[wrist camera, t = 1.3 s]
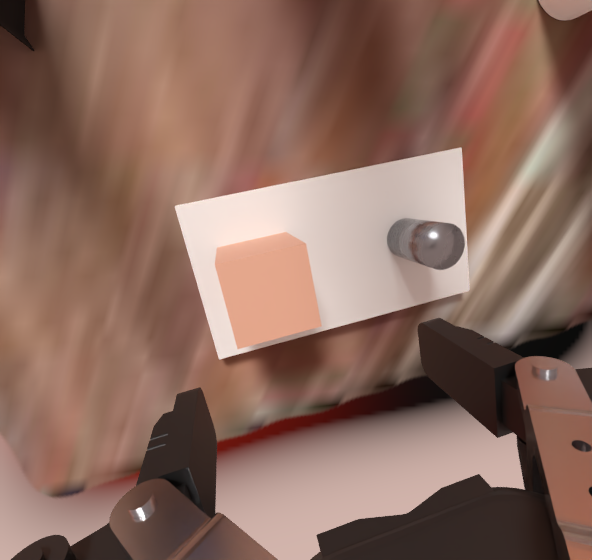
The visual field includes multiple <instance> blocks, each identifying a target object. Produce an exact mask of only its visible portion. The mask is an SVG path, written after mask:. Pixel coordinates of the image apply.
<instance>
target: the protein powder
mask: <svg viewBox="0 0 592 560" xmlns="http://www.w3.org/2000/svg"><path fill="white" fill-rule="evenodd" d="M24 20H25V0H0V25H1V26H2V27H3V28H5V29H6V30H7V31H8V32H10V33H11V34H12V35H14V36H15V37H16V38H17V39H19V40H20V41H21V42H23V43H24V44H25V45H26V46H28V47H29V48H30V49H32V50H33V51H34V49H33V48H32V46H31V45H30V43H29V42H28V40H27V39H26V37H25V35H24Z"/></svg>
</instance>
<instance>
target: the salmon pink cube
mask: <svg viewBox="0 0 592 560" xmlns="http://www.w3.org/2000/svg"><path fill="white" fill-rule="evenodd" d="M215 268H216V271H217V275H218V279H219V282H220V286H221V290H222V293H223V297H224V301H225V305H226V308H227V312H228V316H229V319H230V323H231V327H232V330H233V334H234V338H235V342H236V345H237V349H241V348H244V347H248V346H252V345H255V344H259V343H263V342H266V341H270V340H274V339H277V338H281V337H285V336H288V335H292V334H296V333H299V332H303V331H307V330H310V329H314V328H318V327H321V326H322V325H321V320H320V315H319V309H318V304H317V299H316V294H315V288H314V283H313V278H312V273H311V267H310V262H309V257H308V251H307V246H306V243H304V242H303V241H301V240H299V239H297V238H296V237H294V236H292V235H290V234H289V233H287V232H283V233H279V234H274V235H270V236H266V237H261V238H257V239H252V240H248V241H243V242H239V243H235V244H230V245H226V246H221V247H217V251H216V258H215Z"/></svg>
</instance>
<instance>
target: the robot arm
mask: <svg viewBox="0 0 592 560" xmlns="http://www.w3.org/2000/svg"><path fill="white" fill-rule="evenodd" d="M418 337H419V346H420V354H421V362H422V366H423V369H424V371H425V373H426V374H427V376H428V377H429V378H430V379H431V380H432V381H434V382H435V383H436V384H437V385H438V386H439V387H440V388H441V389H443V390H444V391H445V392H446V393H447V394H448V395H449V396H451V397H452V398H453V399H454V400H455V401H456V402H457V403H459V404H460V405H461V406H462V407H463V408H464V409H465V410H467V411H468V412H469V413H470V414H471V415H472V416H473V417H474V418H476V419H477V420H478V421H479V422H480V423H481V424H482V425H484V426H485V427H486V428H487V429H488V430H489V431H490V432H491V433H493V434H494V435H495V436H496V437H497V438H498V437H501V436H504V435H507V434H509V433H512V432H514V433H515V434H516V435H517V447H518V453H519V459H520V465H521V470H522V476H523V482H524V487H525V490H523V489H517V488H507V487H493V488H491V487H490V486H489V484H488V483H487V482H486V481H485V480H484V479H483V478H482V477H481V476H480V475H479V474H478V475H475V476H473V477H470V478H467V479H465V480H462V481H459V482H457V483H454V484H451V485H449V486H446V487H443V488H441V489H440V490H438V491H437V492H436V493H434V494H433V495H432V496H430V497H429V498H428V499H427V500H425V501H424V502H422V504H420V505H419V506H417V507H416V508H415V509H413V510H412V511H411V512H409V513H407V514H403V515H394V516H385V517H375V518H365V519H358V520H355V521H353V522H350V523H347V524H345V525H342V526H339V527H337V528H334V529H331V530H329V531H326V532H323V533H321V534H318V535H317V539H318V542H319V547H320V551H321V552H319V553H318V554H317V555H315V556H314V557H313V558H312V559H311V560H592V368H586V369H574V368H573V367H572V366H571V365H569V364H567V363H565V362H563V361H561V360H558V359H554V358H550V357H542V356H533V357H526V358H523V357H521V356H519V355H517V354H515V353H514V352H512V351H510V350H508V349H506V348H504V347H502V346H501V345H499V344H497V343H493V341H491V340H489V339H488V338H484V336H482V335H480V334H478V333H476V332H474V331H473V330H469V329H465V328H461V327H455V326H454V325H452V324H450V323H448V322H446V321H445V320H443V319H441V318H437V319H433V320H430V321H427V322H423V323H420V324H419V325H418ZM150 439H151V441H149V444H148V448H147V450H148V451H146V454H145V458H144V461H143V464H142V468H141V471H140V474H139V478H138V481H137V484H136V487H134V488H133V489H131V490H130V491H129V492H127V493H126V494H125V495H124V496H123V497H122V498H121V499H120V500H119V502H118V503H117V504H116V506H115V507H114V509H113V511H112V513H111V516H110V521H109V523H108V524H107V525H105V526H104V527H102V528H101V529H99V530H97V531H96V532H94V533H92V534H91V535H89V536H87V537H86V538H84V539H82V540H81V541H79V542H77V543H76V544H74V545H72V546H70V545H69V543H68V541H67V539H66V538H65V537H64V536H60V535H52V536H48V537H45V538H42V539H40V540H38V541H36V542H34V543H32V544H31V545H29V546H27V547H26V548H24V549H23V550H22V551H21V552H19V553H18V554H17V555H16V556H14V557H13V558H12V559H11V560H277V559H276V558H275V557H274V556H273V555H272V554H270V553H269V552H268V551H267V550H266V549H264V548H263V547H262V546H261V545H259V544H258V543H257V542H256V541H255V540H253V539H252V538H251V537H250V536H249V535H248V534H246V533H245V532H244V531H243V530H241V529H240V528H239V527H238V526H237V525H235V524H234V523H233V522H232V521H230V520H229V519H228V518H227V517H226V516H224V515H223V514H221V513H216V514H215V499H216V498H215V497H216V459H217V440H216V433H215V429H214V425H213V422H212V419H211V416H210V413H209V410H208V407H207V404H206V401H205V397H204V394H203V392H202V390H201V388H196V389H193V390H189V391H186V392H182V393H179V394H177V397H176V401H175V405H174V409H173V411H172V412H168V413H165V414H163V415H162V417H161V418H160V419H159V420H158V422H157V423H156V424H155V426H154V428H153V431H152V434H151V438H150Z"/></svg>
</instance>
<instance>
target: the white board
mask: <svg viewBox="0 0 592 560" xmlns="http://www.w3.org/2000/svg"><path fill="white" fill-rule="evenodd" d="M175 209H176V212H177V216H178V219H179V223H180V226H181V230H182V233H183V237H184V240H185V243H186V247H187V250H188V254H189V257H190V261H191V264H192V268H193V271H194V274H195V278H196V281H197V285H198V288H199V292H200V295H201V299H202V302H203V306H204V309H205V312H206V316H207V319H208V323H209V326H210V330H211V333H212V337H213V340H214V344H215V347H216V350H217V354H218V357H219V359H223V358H227V357H230V356H234V355H238V354H241V353H245V352H249V351H252V350H256V349H259V348H263V347H267V346H270V345H274V344H278V343H281V342H285V341H289V340H292V339H296V338H299V337H303V336H307V335H310V334H314V333H318V332H321V331H325V330H329V329H332V328H336V327H339V326H343V325H347V324H350V323H354V322H358V321H361V320H365V319H369V318H372V317H376V316H380V315H383V314H387V313H390V312H394V311H398V310H401V309H405V308H409V307H412V306H416V305H420V304H423V303H427V302H430V301H434V300H438V299H441V298H445V297H449V296H452V295H456V294H460V293H463V292H467V291H470V287H469V269H468V252H467V234H466V216H465V199H464V181H463V163H462V147H461V148H456V149H451V150H446V151H441V152H436V153H431V154H427V155H422V156H417V157H412V158H407V159H402V160H397V161H392V162H387V163H382V164H378V165H373V166H368V167H363V168H358V169H353V170H348V171H343V172H338V173H333V174H329V175H324V176H319V177H314V178H309V179H304V180H299V181H294V182H289V183H285V184H280V185H275V186H270V187H265V188H260V189H255V190H250V191H245V192H240V193H236V194H231V195H226V196H221V197H216V198H211V199H206V200H201V201H196V202H192V203H187V204H182V205H177V206H175ZM403 218H411V219H419V220H427V221H436V222H444V223H451V224H454V225H456V226H457V227H459V228H460V230H461V231H462V233H463V235H464V239H465V247H464V251H463V254H462V256H461V258H460V259H459V261H458V262H457V263H456V264H455V265H453V266H452V267H450V268H448V269H444V270H437V269H433V268H430V267H427V266H425V265H422V264H419V263H416V262H413V261H410V260H407V259H404V258H401V257H398V256H396V255H394V254H393V253H392V252H391V251H390V249H389V247H388V245H387V235H388V232H389V229H390V228H391V226H392V225H393V224H394V223H395V222H396V221H398V220H400V219H403ZM283 232H287V233H289V234H290V235H292V236H294V237H296V238H297V239H299V240H301V241H303V242H304V243H306V246H307V251H308V257H309V262H310V267H311V273H312V278H313V283H314V288H315V294H316V299H317V304H318V309H319V315H320V320H321V325H322V326H321V327H318V328H314V329H310V330H307V331H303V332H299V333H296V334H292V335H288V336H285V337H281V338H277V339H274V340H270V341H266V342H263V343H259V344H255V345H252V346H248V347H244V348H241V349H237V345H236V342H235V338H234V334H233V330H232V327H231V323H230V319H229V316H228V312H227V308H226V305H225V301H224V297H223V293H222V290H221V286H220V282H219V279H218V275H217V271H216V268H215V258H216V251H217V247H221V246H226V245H230V244H235V243H239V242H243V241H248V240H252V239H257V238H261V237H266V236H270V235H274V234H279V233H283Z"/></svg>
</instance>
